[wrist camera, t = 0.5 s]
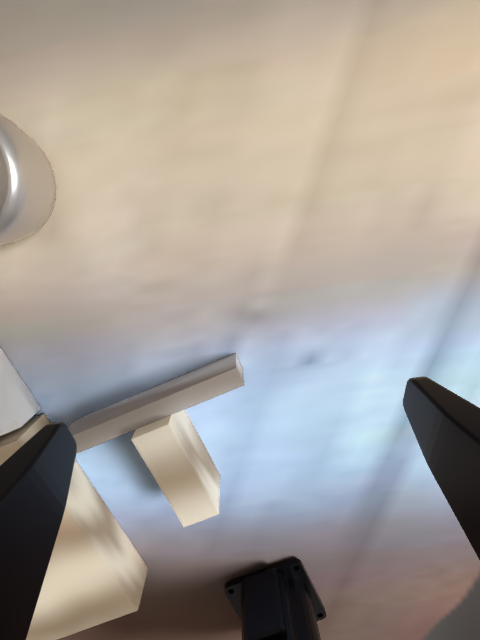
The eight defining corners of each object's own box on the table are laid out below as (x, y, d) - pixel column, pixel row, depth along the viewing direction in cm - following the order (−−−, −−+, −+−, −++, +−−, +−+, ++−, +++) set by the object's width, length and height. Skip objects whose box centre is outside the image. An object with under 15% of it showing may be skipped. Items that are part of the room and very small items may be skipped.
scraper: (281, 450, 24) (290, 487, 20) (132, 508, 25) (116, 552, 21) (235, 352, 22) (236, 375, 18) (74, 419, 23) (47, 452, 19)
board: (148, 568, 26) (138, 610, 23) (-5, 624, 27) (-33, 671, 24) (44, 413, 22) (16, 440, 20) (-129, 486, 24) (-179, 522, 21)
